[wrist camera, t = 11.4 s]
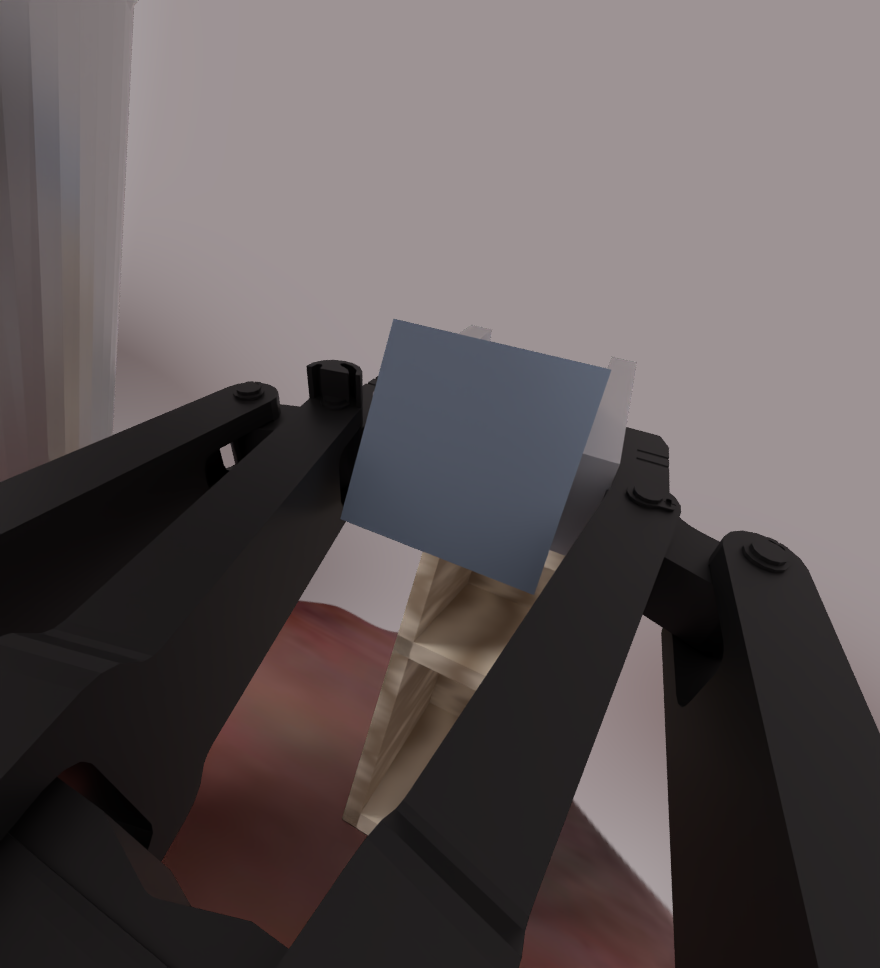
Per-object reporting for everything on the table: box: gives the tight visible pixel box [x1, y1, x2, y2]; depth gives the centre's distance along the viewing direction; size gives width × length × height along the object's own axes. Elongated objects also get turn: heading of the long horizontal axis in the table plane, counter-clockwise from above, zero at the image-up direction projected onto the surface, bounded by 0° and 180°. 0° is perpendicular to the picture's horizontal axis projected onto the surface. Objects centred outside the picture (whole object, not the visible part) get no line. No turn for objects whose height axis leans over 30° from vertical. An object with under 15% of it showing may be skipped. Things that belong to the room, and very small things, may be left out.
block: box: [340, 319, 611, 595], centre depth 20 cm, size 4×26×4 cm, turn 162°
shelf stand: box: [342, 550, 565, 835], centre depth 44 cm, size 14×20×32 cm
